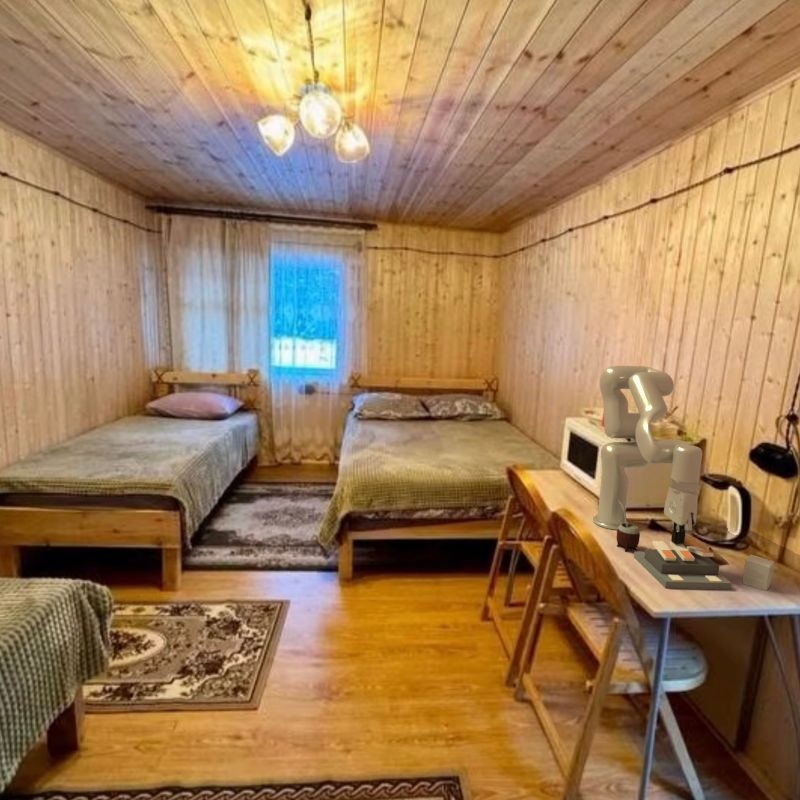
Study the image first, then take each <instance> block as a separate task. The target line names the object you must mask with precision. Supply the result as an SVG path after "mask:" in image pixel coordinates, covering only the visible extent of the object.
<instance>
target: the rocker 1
mask: <svg viewBox="0 0 800 800" xmlns="http://www.w3.org/2000/svg"><path fill="white" fill-rule="evenodd" d="M652 546H654V548H655V549H657V551H658V552H659V554H660V556H662V557H663V558H664V560H671V561H676V557H675V555H674V554H673V553H672V552H671V550H672V549H670V548H669V546H668V545H667V544H666V543H665V541H663V540H652Z"/></svg>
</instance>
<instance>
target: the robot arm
mask: <svg viewBox="0 0 800 800" xmlns="http://www.w3.org/2000/svg"><path fill="white" fill-rule="evenodd" d="M674 386H675V384H674V380H673V378H672V377H671V375H670V374H668V373H667V372H664V371H662V370H659V369H656V368H653V367H649V366H642V365H641V366H640V365H613V366H608V367H606V368H605V369H604V370H603V371H602V372H601V374H600V377H599V390H600V393H601V396H602V405H603V426H604V427H603V428H604V433H605V435H606V437H608V438H611V439H630V441H628V442H627V441H618V442H617V441H612V442H608V443H606V444H604V445H602V447H601V450H600V461H601V475H600V476H601V477H600V478H601V479H600V486H599V487H600V490H599V499H598V500H599V501H598V507H597V511H598V512H597V514H596V515H594V516H592V520H593V521H592V522H593V523H594V524H595V525H598V526H600V527H601V528H605V529H610V530H616V531H617V530H618V527H619V525H621V524H622V523H625V517H624V512H623V508H622V506H621V505H620V503H619V501H620V502H621V503H622V505H623V506H624V508H625V511H626V512H627V503H628V493H629V483H630V482H629V481H630V480H629V477H628V475H627V473H626V471H625V469H630V468H631V469H632V468H633V469H635V468H645V467H647V466H648V465H649V464H672V465H671V472H670V480H669V481H670V482H669V486H668V489H667V493H666V497H665V502H664V509H663V513H664V516H665V517H667V519H669V521H671V529H672V532H671V539H670V541H672V542H673V543H674V544H684V541H685V534H687V532H688V531H690V532H691V531H693V526H695V525H696V524H697V523H696V522H697V518H698V517H697V516H698V493H699V486H700V485H699V484H700V477H701V468H702V459H703V450H702V449H701V447H698V446H696V445H693V444H689V443H688V442H686V441H684V440H682V439H669V438H666V439H655V438H654V436H653V433H652V430H651V423H653V422H655V421H657V420H659V419H661V418H663V417H664V416H666V415H667V413H668V410H669V409H668V405H667V404H666V401H665V400H664V397H667V396H669V395H671V394H672V392H673V390H674V388H675V387H674ZM622 390H630V393H631V396H632V398H633V400H634V403H635V405H636V408H637V411H638V412H637V413H636V412H629V402H628V398H627V397H626V395H625V394H624V393H623V391H622ZM626 512H625V513H626ZM627 523H629V522H628V520H627Z"/></svg>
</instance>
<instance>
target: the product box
mask: <svg viewBox="0 0 800 800" xmlns="http://www.w3.org/2000/svg"><path fill="white" fill-rule="evenodd" d="M744 562H745V563H744V569H743V575H742V584H745V585H748V586H751V587H754V588H757V589H760V590H764V591H766V592H767V591H768V590H769V587H770V585H771V584H772V578H773V572H774V565H775V561H774V560H771V559H768V558H765V557H761V556H757V555H754V554H749V555H748V556H747V558H746V559H745V561H744Z"/></svg>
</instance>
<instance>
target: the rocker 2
mask: <svg viewBox="0 0 800 800" xmlns="http://www.w3.org/2000/svg"><path fill="white" fill-rule="evenodd" d="M686 549H687V550H689V551H691V552H693V553H696V556H697V557H704V556H709V557H713V553H712V552H709V551H707V550H704V549H701V548H699V547H687V548H686Z"/></svg>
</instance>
